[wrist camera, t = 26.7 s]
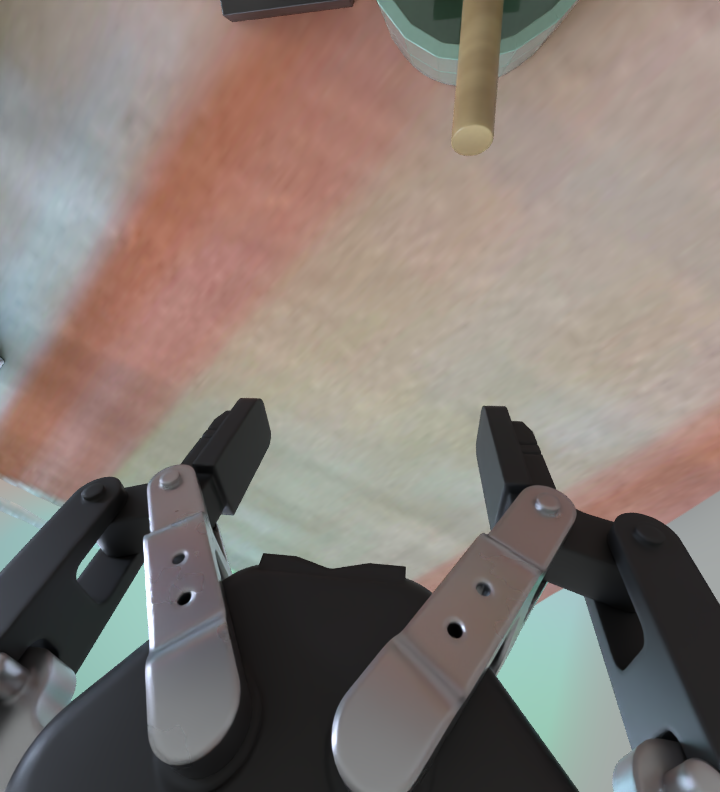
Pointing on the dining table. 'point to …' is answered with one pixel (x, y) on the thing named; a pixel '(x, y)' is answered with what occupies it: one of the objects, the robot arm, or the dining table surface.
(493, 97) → the rice paddle
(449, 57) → the pot
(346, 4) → the stand
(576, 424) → the dining table surface
